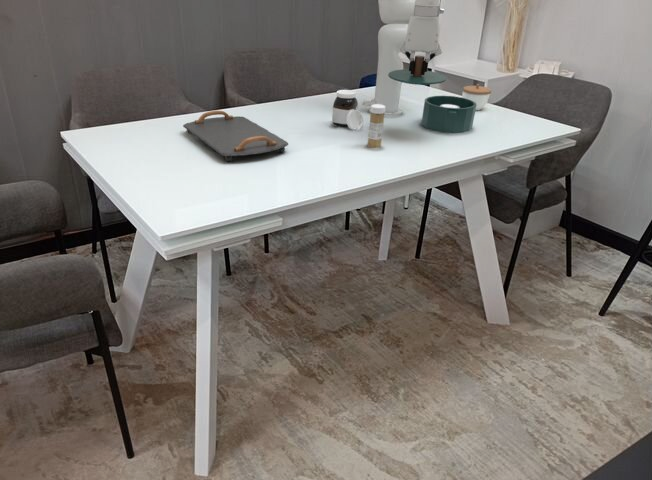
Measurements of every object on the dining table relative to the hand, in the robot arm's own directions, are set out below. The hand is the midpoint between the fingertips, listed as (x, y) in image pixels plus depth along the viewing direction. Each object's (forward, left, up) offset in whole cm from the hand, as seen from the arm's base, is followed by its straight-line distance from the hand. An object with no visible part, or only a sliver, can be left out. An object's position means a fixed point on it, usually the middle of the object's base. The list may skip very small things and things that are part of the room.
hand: (417, 73), depth 178 cm
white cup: (+14, +13, -20) cm, 28 cm away
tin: (+14, +13, -21) cm, 28 cm away
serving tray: (-56, -21, -21) cm, 64 cm away
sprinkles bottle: (-11, -16, -21) cm, 29 cm away
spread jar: (-21, +5, -21) cm, 30 cm away
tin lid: (0, 0, -1) cm, 1 cm away
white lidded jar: (+27, +42, -21) cm, 54 cm away
